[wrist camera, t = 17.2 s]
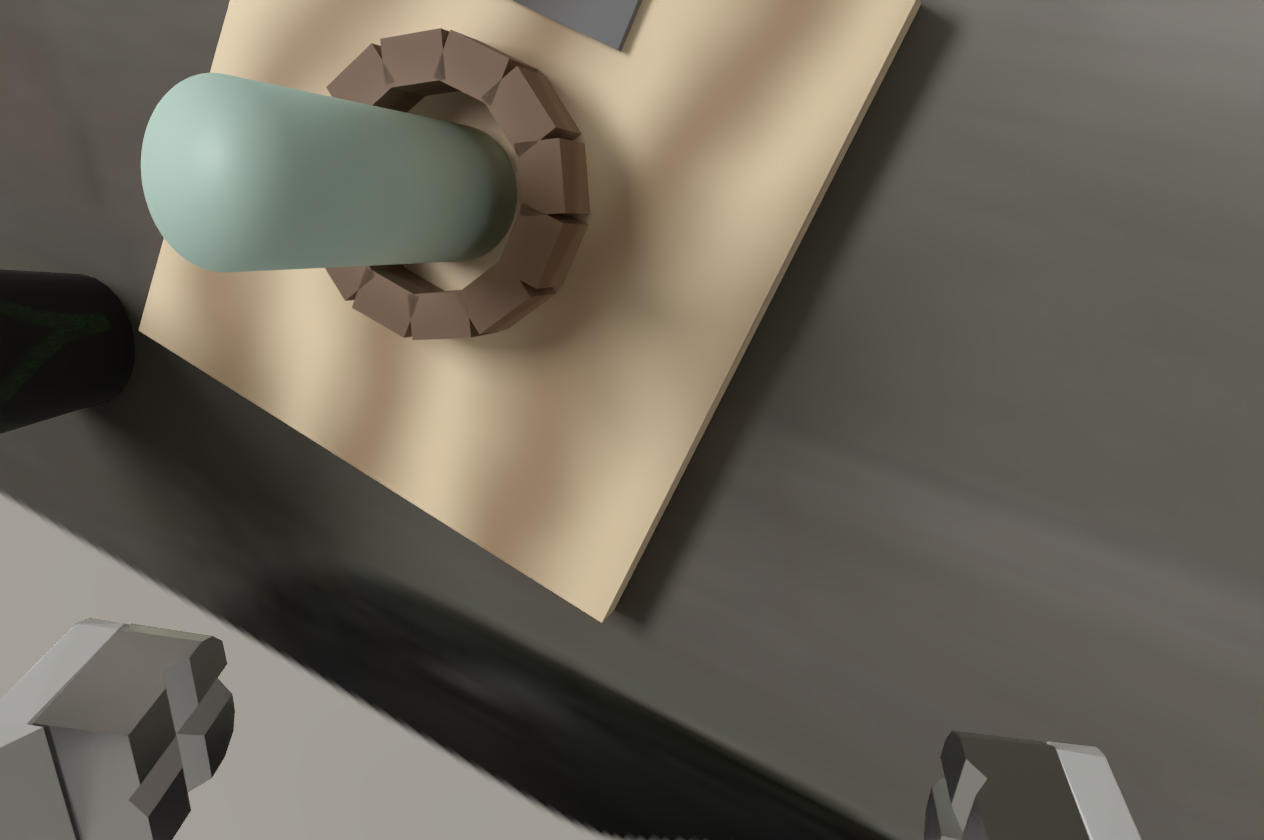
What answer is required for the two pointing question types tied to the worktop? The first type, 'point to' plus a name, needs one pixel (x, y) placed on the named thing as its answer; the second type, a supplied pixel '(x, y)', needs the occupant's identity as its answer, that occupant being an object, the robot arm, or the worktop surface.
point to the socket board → (546, 252)
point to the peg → (317, 180)
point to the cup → (59, 345)
